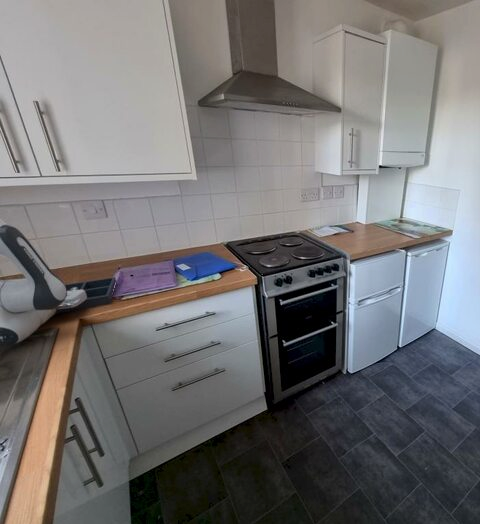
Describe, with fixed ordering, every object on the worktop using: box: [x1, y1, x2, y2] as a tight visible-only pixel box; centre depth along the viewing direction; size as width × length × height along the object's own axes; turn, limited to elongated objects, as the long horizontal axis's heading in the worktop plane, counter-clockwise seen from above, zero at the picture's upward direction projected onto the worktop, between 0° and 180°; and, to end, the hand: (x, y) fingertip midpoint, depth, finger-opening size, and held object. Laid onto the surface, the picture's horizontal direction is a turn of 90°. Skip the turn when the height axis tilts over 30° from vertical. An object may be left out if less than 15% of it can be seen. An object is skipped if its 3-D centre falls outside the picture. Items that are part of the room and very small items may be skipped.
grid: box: [54, 276, 118, 315], centre depth 115 cm, size 19×19×4 cm
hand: (59, 290), depth 108 cm, fingers open, 8 cm apart
